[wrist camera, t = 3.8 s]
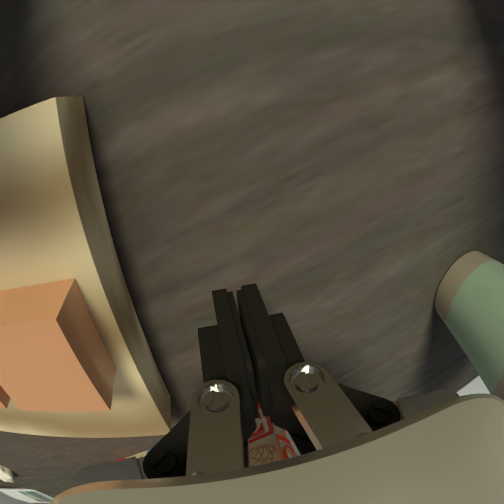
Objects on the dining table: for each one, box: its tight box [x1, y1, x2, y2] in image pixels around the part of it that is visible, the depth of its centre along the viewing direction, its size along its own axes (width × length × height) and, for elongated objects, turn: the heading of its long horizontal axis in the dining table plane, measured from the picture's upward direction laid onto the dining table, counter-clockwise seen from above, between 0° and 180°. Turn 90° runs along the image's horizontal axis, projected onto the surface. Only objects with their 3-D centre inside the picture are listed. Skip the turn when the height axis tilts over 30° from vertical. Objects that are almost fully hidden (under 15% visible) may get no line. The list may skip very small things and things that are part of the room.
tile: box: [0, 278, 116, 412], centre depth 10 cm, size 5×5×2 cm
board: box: [0, 96, 172, 438], centre depth 12 cm, size 18×14×3 cm
